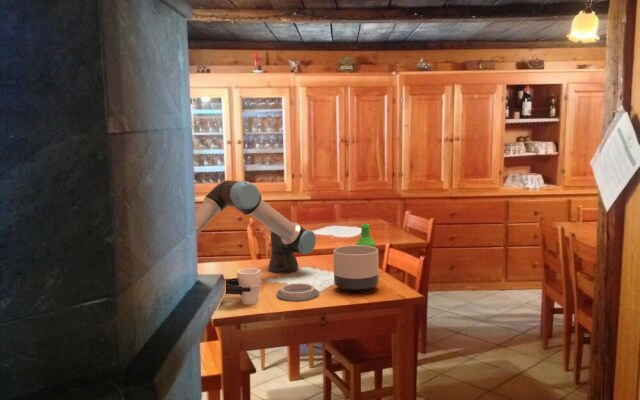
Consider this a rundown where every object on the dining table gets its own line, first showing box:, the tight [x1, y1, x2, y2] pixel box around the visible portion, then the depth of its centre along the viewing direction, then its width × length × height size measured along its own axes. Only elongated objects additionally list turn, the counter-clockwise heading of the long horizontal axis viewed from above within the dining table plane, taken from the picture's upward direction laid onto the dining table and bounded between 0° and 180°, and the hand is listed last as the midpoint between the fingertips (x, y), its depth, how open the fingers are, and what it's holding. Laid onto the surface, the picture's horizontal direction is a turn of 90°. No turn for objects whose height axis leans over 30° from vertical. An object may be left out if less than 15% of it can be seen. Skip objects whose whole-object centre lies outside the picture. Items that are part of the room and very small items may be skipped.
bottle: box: [355, 223, 376, 248], centre depth 254 cm, size 9×9×25 cm
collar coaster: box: [276, 282, 320, 302], centre depth 228 cm, size 18×18×3 cm
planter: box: [332, 244, 380, 293], centre depth 233 cm, size 19×19×18 cm
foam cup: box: [236, 267, 262, 305], centre depth 219 cm, size 10×9×13 cm
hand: (260, 285), depth 219 cm, fingers closed on foam cup, 9 cm apart
